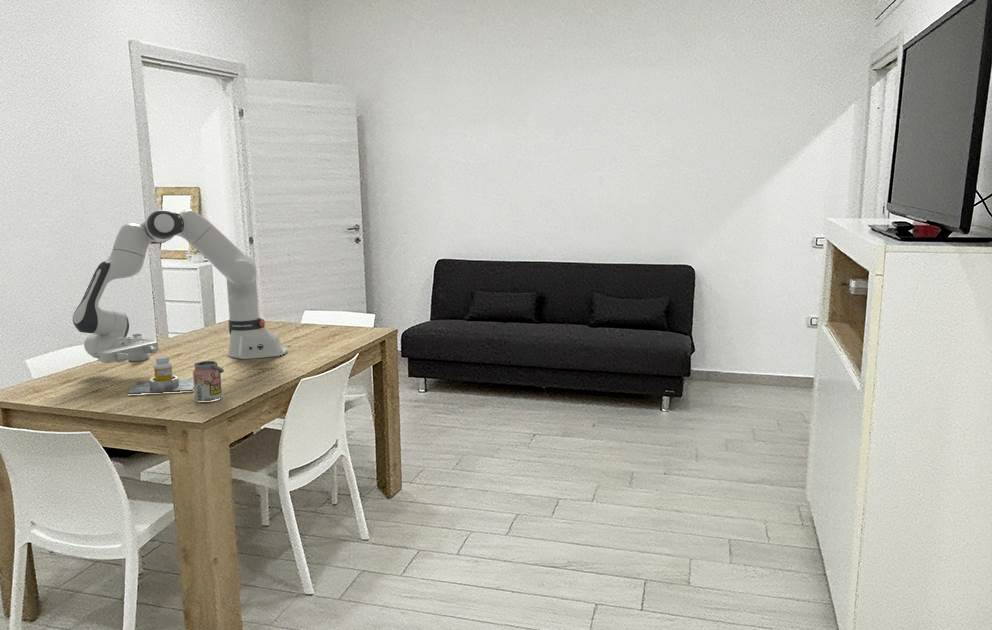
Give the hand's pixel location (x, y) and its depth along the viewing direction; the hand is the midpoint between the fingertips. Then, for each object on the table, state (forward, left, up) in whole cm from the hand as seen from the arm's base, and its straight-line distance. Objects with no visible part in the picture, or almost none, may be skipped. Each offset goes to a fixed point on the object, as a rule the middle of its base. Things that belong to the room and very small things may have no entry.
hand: (141, 353), depth 271 cm
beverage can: (-26, +27, -10) cm, 39 cm away
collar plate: (-9, +10, -10) cm, 17 cm away
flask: (+10, -37, -10) cm, 39 cm away
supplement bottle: (-9, +10, -9) cm, 16 cm away
